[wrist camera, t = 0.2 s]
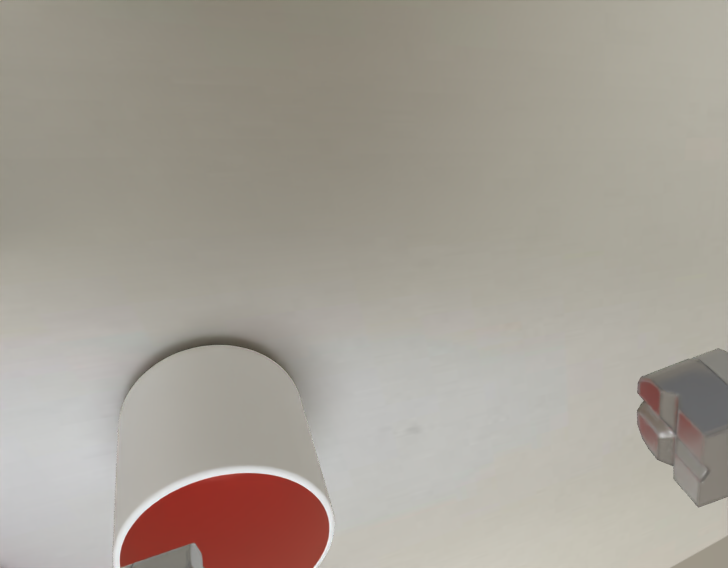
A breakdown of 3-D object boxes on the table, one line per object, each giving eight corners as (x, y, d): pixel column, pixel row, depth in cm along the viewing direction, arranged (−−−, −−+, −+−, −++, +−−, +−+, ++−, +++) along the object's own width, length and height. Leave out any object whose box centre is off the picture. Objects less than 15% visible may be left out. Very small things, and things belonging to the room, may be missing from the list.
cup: (204, 301, 36) (222, 432, 28) (331, 390, 42) (377, 522, 33) (79, 422, 38) (62, 578, 30) (217, 492, 43) (234, 641, 35)
